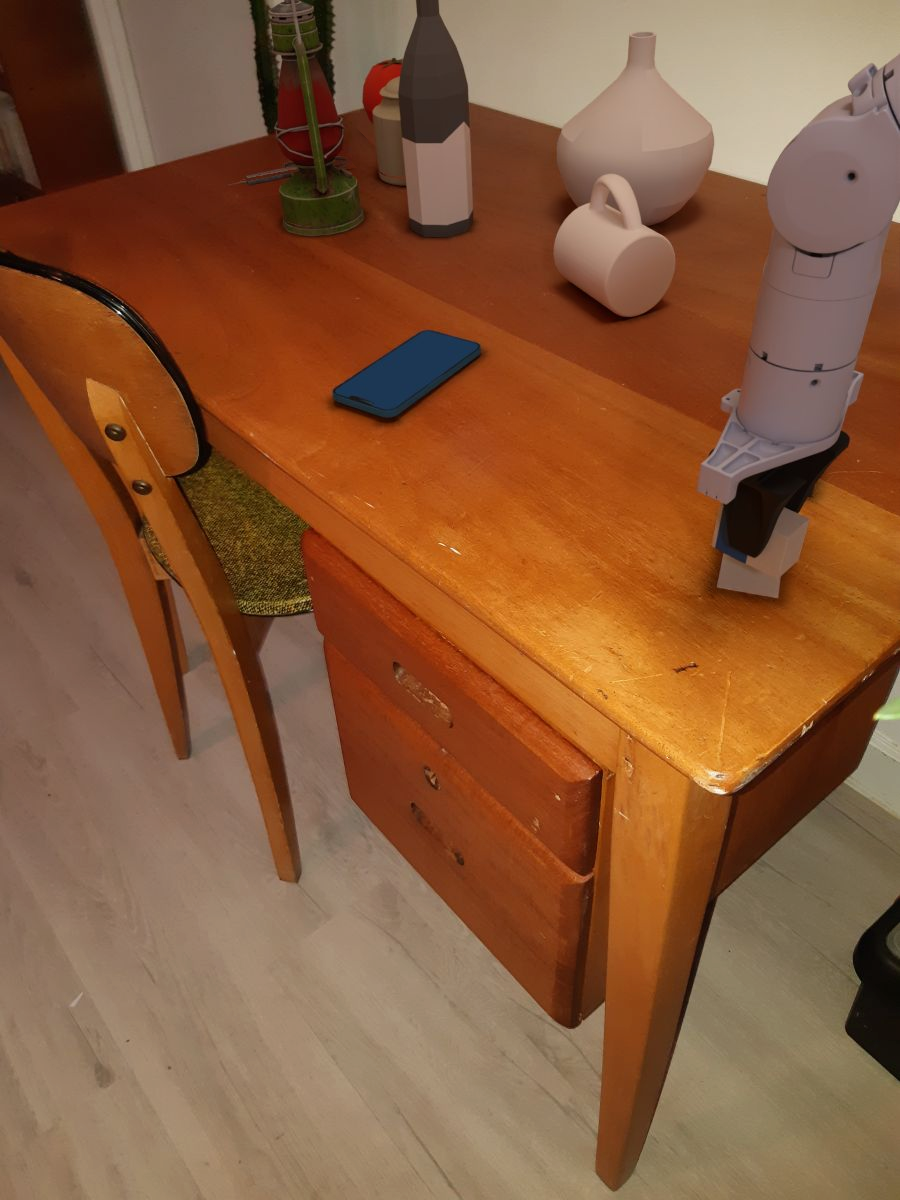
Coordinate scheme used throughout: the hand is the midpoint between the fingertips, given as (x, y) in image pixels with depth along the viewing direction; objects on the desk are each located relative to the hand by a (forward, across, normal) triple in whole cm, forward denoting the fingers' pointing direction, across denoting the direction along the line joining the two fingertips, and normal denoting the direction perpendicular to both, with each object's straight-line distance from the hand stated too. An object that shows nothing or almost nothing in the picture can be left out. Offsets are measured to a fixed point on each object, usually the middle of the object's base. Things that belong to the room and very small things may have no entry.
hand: (758, 537), depth 58 cm
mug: (+4, -28, -35) cm, 45 cm away
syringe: (+4, -30, -95) cm, 100 cm away
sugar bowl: (+4, -43, -83) cm, 93 cm away
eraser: (+1, 0, 0) cm, 1 cm away
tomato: (+4, -55, -99) cm, 113 cm away
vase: (+4, -48, -48) cm, 68 cm away
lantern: (+4, -23, -78) cm, 81 cm away
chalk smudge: (+4, -2, -1) cm, 5 cm away
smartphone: (+4, -3, -39) cm, 39 cm away
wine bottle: (+4, -31, -64) cm, 71 cm away
